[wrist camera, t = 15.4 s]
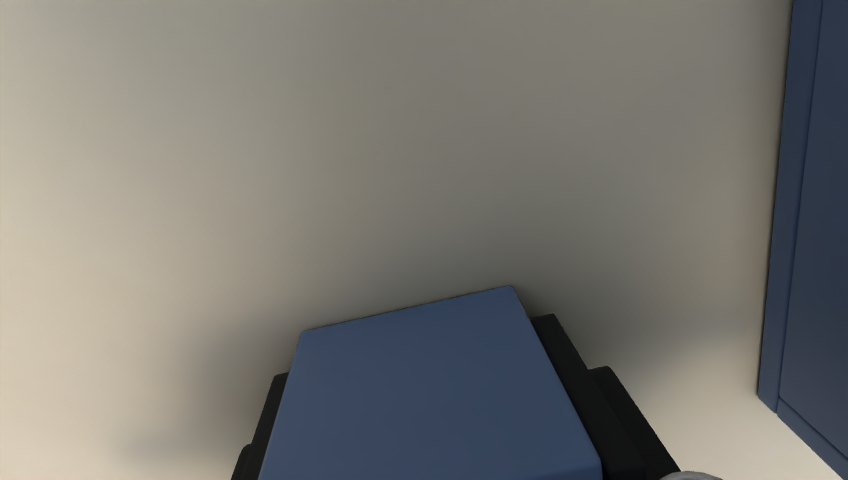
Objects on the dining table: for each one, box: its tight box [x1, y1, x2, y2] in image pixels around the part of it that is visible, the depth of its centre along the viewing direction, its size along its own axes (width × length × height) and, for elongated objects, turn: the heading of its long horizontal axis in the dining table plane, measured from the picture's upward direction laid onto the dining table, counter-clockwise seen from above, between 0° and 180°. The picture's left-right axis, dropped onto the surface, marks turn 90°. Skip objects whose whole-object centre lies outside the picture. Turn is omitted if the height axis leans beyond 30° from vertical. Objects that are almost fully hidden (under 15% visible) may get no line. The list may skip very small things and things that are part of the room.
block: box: [258, 286, 603, 480], centre depth 9 cm, size 4×4×4 cm
